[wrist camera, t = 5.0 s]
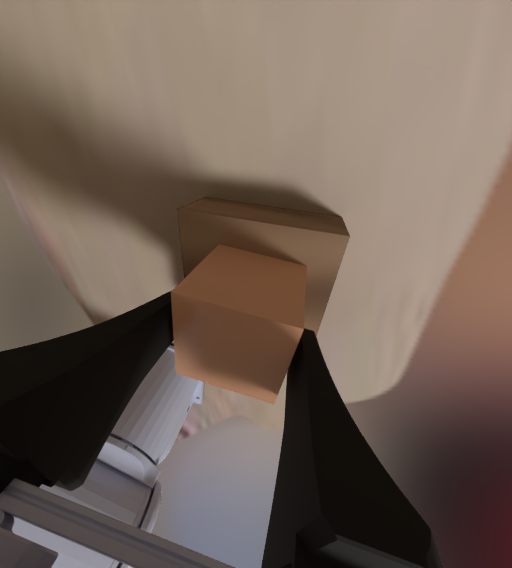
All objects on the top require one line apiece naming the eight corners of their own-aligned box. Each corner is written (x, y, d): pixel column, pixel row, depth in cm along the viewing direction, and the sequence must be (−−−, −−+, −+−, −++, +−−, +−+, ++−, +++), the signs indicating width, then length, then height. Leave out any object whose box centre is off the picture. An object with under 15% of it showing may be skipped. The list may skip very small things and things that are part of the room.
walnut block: (309, 321, 19) (308, 358, 15) (210, 300, 20) (189, 330, 17) (341, 215, 14) (350, 236, 10) (207, 196, 15) (177, 208, 12)
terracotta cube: (284, 331, 14) (273, 404, 10) (213, 311, 15) (175, 373, 11) (306, 265, 12) (304, 329, 8) (219, 244, 12) (170, 292, 8)
